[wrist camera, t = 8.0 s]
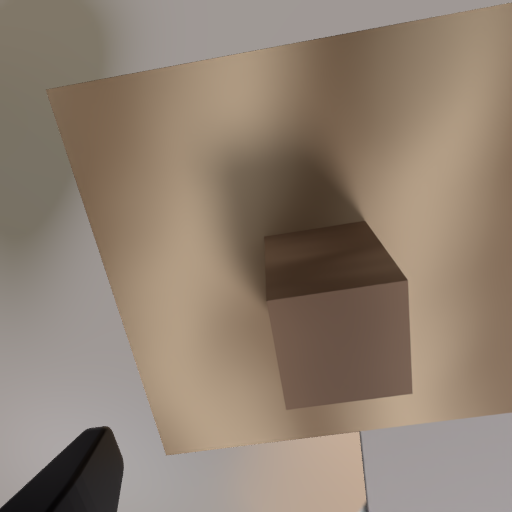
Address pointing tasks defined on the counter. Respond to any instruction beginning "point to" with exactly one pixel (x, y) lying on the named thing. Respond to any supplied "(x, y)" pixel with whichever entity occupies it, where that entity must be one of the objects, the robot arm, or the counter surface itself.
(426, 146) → the lid
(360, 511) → the counter surface
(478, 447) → the mat
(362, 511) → the counter surface
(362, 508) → the counter surface
